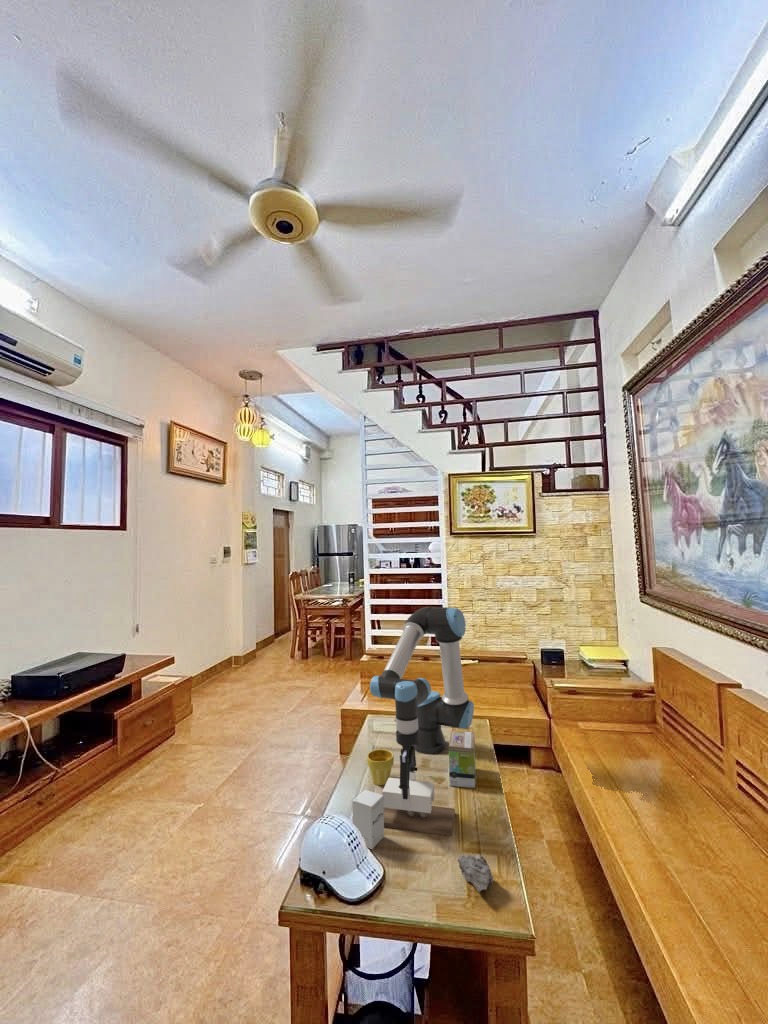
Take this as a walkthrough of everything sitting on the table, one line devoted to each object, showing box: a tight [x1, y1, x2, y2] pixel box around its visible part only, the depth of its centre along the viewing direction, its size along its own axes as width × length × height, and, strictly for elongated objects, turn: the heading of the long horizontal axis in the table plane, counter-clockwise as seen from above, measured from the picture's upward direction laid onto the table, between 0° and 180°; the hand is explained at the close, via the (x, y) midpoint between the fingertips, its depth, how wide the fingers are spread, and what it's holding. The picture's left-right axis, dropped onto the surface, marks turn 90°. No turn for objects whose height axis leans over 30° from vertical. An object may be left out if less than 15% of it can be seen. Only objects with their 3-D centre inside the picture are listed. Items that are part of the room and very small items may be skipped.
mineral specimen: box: [457, 853, 494, 893], centre depth 117 cm, size 10×8×10 cm
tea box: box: [448, 730, 476, 789], centre depth 172 cm, size 15×10×15 cm, turn 168°
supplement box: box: [351, 789, 385, 850], centre depth 137 cm, size 7×7×13 cm
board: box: [384, 805, 456, 837], centre depth 146 cm, size 12×24×4 cm, turn 76°
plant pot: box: [366, 748, 395, 786], centre depth 171 cm, size 10×10×10 cm
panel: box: [381, 777, 436, 813], centre depth 147 cm, size 9×16×5 cm, turn 76°
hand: (409, 799), depth 147 cm, fingers closed on panel, 9 cm apart
